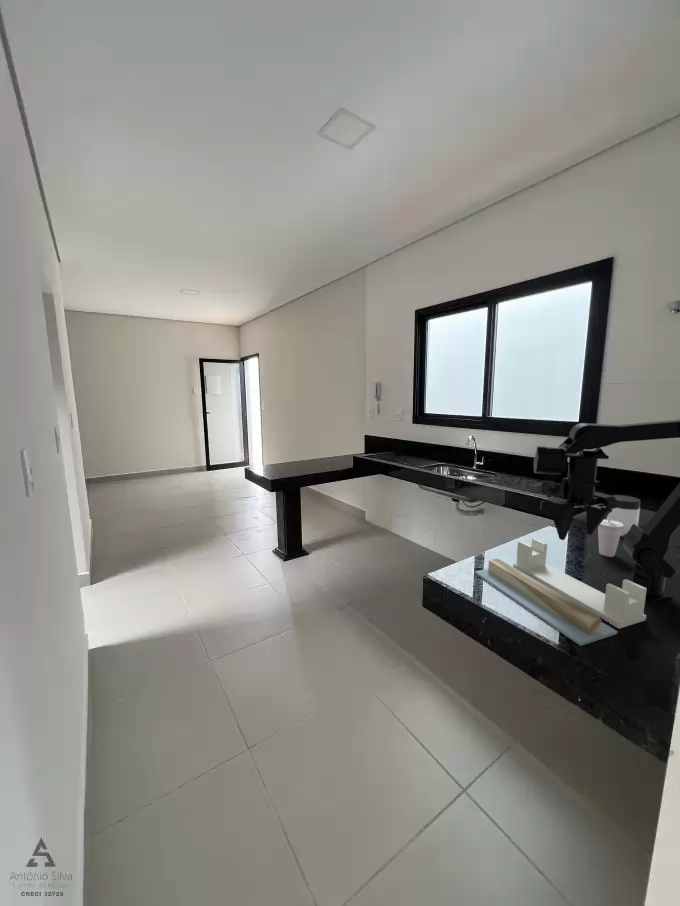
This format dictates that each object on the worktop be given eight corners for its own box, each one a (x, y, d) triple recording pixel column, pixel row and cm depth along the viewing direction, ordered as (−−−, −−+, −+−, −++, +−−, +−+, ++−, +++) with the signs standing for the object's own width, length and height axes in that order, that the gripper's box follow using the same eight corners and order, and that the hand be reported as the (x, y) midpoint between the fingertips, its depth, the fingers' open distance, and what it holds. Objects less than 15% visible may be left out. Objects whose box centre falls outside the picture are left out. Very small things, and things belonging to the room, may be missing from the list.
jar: (609, 525, 130) (613, 493, 128) (638, 532, 124) (642, 498, 122) (603, 532, 124) (606, 498, 122) (633, 539, 118) (637, 503, 116)
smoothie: (609, 549, 111) (614, 505, 109) (626, 558, 105) (631, 511, 102) (588, 549, 111) (593, 505, 109) (604, 559, 104) (609, 512, 102)
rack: (535, 562, 103) (537, 537, 102) (645, 620, 77) (650, 587, 76) (513, 567, 100) (515, 541, 99) (619, 628, 74) (623, 594, 73)
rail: (497, 568, 99) (497, 558, 98) (599, 631, 72) (601, 618, 72) (488, 570, 98) (488, 560, 97) (589, 635, 71) (590, 621, 71)
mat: (504, 567, 101) (504, 565, 101) (617, 633, 73) (617, 631, 73) (474, 573, 97) (474, 571, 97) (580, 645, 69) (580, 642, 69)
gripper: (578, 466, 99) (573, 521, 101) (524, 472, 93) (520, 530, 95) (621, 475, 88) (614, 536, 91) (564, 482, 82) (558, 547, 85)
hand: (575, 536), depth 91 cm, fingers open, 9 cm apart
